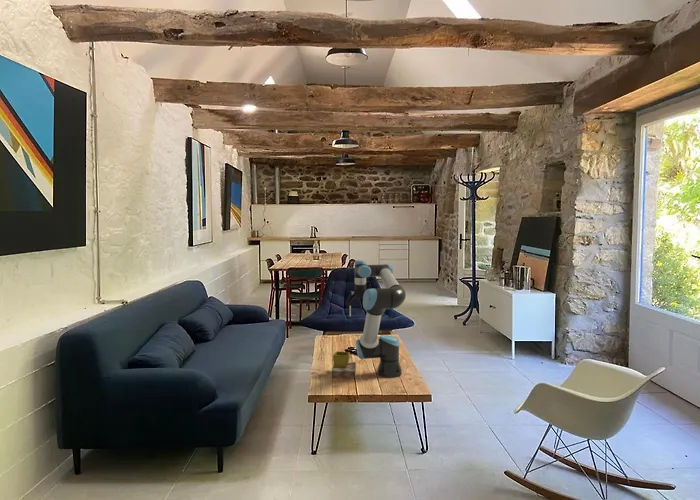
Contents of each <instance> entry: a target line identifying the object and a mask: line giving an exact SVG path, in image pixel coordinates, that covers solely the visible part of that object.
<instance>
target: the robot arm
mask: <svg viewBox="0 0 700 500" xmlns="http://www.w3.org/2000/svg"><path fill="white" fill-rule="evenodd" d="M393 274H394V269H393V265H392V264H388V263H387V264H386V263H384V264H367V262H366V260H363V259H362V260H361V259H360V260H359V259H358V260H355V261H354V291H352V290H350V292H349V295H348V297H347V300H346V301H345V304H344V305H345V306H347V311H348V312H349V317H351V316H352V306H351V305H352V304H353V303H354V301H355V300H356V299H362V307H363V309H364V311H365V312H366V315H365V320H364V321H365V322H364V327H363V332H362V335H360V336H359V339H355V348H356V353H357V357H358V358H359V359H360V360H361V359H362V360H363V359H364V360H365V359H366V360H367V359H369V360H370V359H379V363H378V366H377V369H376V370H377V371H376V373H377V375H378V376H380V377H383V378H397V377H400V376H402V373H403V369H402V367H401V364H400V342H399V338H397V337H396V336H393V335H389V334H383V335H380V336H379V337H378V335H379V330H380V326H381V325H380V324H381V320H382V316H383V315H384V313H385V312H386V310H393V309H397V308H398V307H401V306H402V305H403V304H404V302H405V301H406V300H405V299H406V296H407V295H406V290H405V288H404V287H403V285H401V284H399V283H398V281H397V279H396V277H395V276H394V275H393ZM371 277H373V278H374V277H379V278H380V280H381V281H382V284H384V286H385V287H384V288H383V287H382V288H373V287H372V288H367V278H371ZM353 295H354V296H353ZM352 296H353V298H352V299H351V297H352Z"/></svg>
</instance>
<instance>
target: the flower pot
mask: <svg viewBox="0 0 700 500" xmlns="http://www.w3.org/2000/svg"><path fill="white" fill-rule="evenodd" d="M350 355H351V354H350V352H349V351H335V352H334V353H333V354H332V362H334V365H335V367H336V368H346V366H347V364H348V362H350V361H349V360H350Z"/></svg>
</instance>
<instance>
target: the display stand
mask: <svg viewBox="0 0 700 500" xmlns="http://www.w3.org/2000/svg"><path fill="white" fill-rule="evenodd" d="M332 362H333V361H332ZM332 364H333V365H332V367H331V378H335V379H336V378H337V379H338V378H339V379H344V378H345V379H347V378H348V379H349V378H350V379H351V378H352V379H354V378H355V379H356V372H357V367H356V364H357V362H356V361H349V362H348V364H347V366H346V368H336V367H335V365H334V362H333V363H332Z"/></svg>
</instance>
